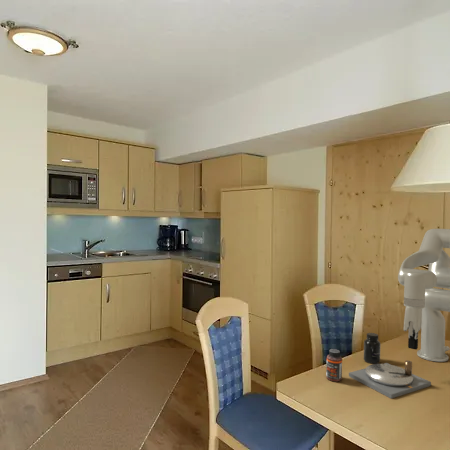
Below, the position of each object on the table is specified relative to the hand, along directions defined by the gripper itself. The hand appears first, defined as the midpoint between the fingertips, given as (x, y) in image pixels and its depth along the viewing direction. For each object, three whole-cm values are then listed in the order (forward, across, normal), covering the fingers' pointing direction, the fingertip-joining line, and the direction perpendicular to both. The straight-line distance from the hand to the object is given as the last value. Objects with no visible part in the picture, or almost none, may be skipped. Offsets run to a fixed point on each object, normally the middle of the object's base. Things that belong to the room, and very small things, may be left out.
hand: (412, 348), depth 147 cm
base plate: (+12, +9, -7) cm, 16 cm away
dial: (+10, +9, -7) cm, 15 cm away
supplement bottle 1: (+13, +21, -24) cm, 34 cm away
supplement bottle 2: (+12, -7, -18) cm, 23 cm away
